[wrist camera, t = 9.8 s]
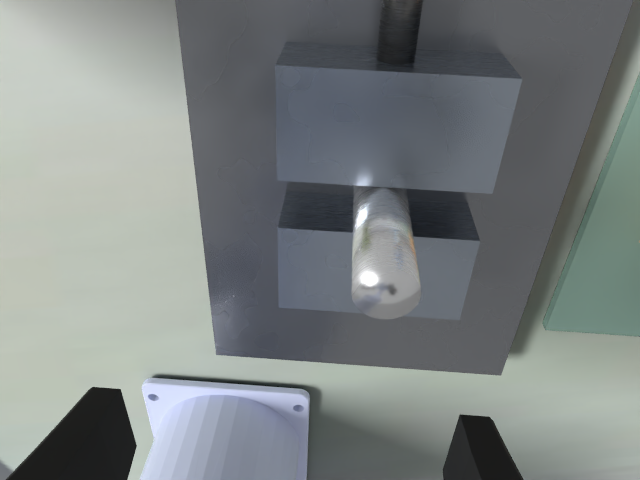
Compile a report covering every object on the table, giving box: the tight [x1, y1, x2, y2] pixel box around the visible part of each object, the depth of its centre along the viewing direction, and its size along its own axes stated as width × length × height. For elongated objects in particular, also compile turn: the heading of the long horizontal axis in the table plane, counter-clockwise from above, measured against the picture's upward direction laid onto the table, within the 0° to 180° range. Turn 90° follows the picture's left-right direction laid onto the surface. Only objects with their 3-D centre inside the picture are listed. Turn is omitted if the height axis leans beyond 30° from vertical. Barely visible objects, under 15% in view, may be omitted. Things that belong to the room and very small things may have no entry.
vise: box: [175, 0, 633, 375], centre depth 15 cm, size 18×12×7 cm, turn 178°
